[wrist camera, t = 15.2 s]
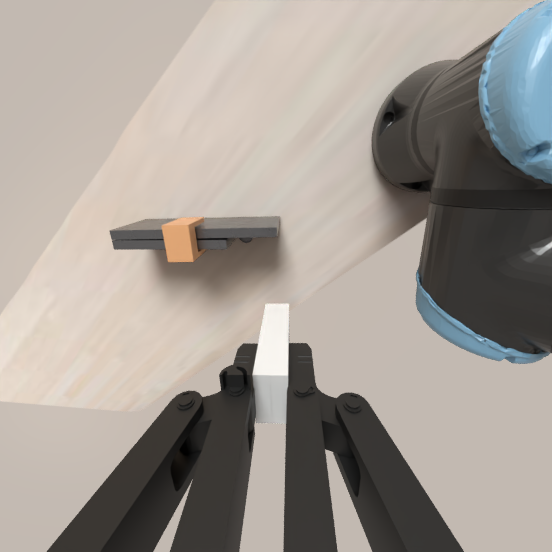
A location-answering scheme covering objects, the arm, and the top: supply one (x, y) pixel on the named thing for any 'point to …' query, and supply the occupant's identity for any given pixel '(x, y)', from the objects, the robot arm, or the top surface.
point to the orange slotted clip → (182, 239)
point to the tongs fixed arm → (204, 228)
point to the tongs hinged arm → (160, 244)
